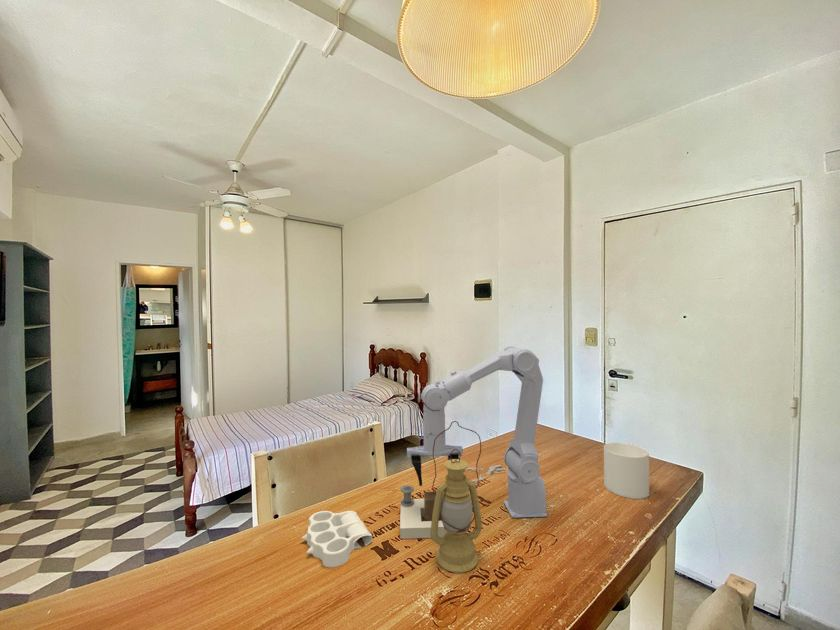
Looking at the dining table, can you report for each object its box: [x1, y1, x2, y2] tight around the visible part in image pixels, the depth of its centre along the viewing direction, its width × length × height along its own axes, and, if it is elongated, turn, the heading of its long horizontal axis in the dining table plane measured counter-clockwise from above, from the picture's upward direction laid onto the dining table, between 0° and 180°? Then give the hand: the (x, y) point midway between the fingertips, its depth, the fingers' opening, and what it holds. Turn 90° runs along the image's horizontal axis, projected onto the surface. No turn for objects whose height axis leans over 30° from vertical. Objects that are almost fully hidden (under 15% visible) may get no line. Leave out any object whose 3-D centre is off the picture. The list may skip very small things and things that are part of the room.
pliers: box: [465, 464, 507, 483], centre depth 116 cm, size 10×2×15 cm
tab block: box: [423, 491, 436, 521], centre depth 88 cm, size 4×4×7 cm
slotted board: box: [399, 484, 447, 540], centre depth 89 cm, size 12×13×6 cm
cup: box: [603, 442, 650, 500], centre depth 104 cm, size 12×12×12 cm
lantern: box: [430, 420, 483, 574], centre depth 76 cm, size 12×10×30 cm
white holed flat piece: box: [300, 510, 373, 568], centre depth 82 cm, size 3×18×15 cm
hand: (435, 483), depth 90 cm, fingers open, 7 cm apart
